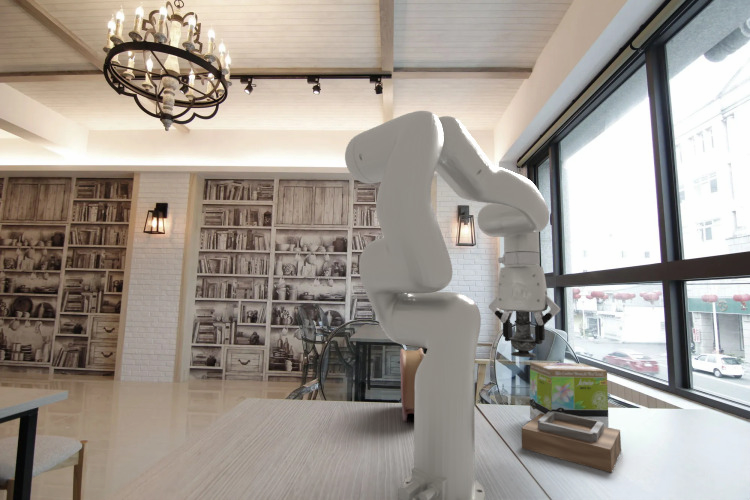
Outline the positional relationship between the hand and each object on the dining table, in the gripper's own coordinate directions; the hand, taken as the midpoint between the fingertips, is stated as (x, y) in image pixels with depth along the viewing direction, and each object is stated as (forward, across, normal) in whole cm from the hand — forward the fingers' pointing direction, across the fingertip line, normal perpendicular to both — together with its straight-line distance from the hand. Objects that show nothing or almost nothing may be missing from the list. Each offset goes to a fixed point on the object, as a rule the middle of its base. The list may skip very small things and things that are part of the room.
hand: (523, 341), depth 83 cm
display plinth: (+22, +8, +4) cm, 23 cm away
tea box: (+22, +5, +20) cm, 30 cm away
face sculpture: (+22, -29, 0) cm, 36 cm away
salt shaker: (+3, 0, 0) cm, 3 cm away
